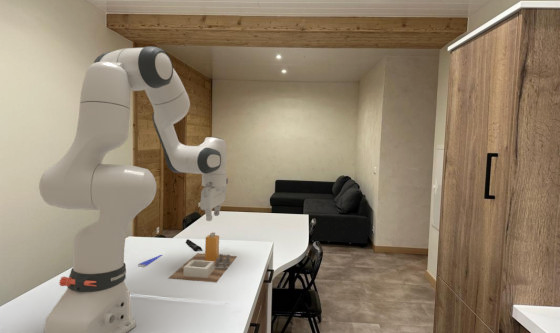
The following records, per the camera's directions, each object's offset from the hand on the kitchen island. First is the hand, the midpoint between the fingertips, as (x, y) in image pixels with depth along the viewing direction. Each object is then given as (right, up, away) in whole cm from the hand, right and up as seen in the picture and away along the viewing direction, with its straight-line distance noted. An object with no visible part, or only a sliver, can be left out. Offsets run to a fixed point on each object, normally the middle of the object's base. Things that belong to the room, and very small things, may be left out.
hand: (213, 217), depth 137 cm
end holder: (-2, -17, -13) cm, 21 cm away
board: (-1, -18, -6) cm, 19 cm away
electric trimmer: (-12, -16, +17) cm, 26 cm away
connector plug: (-1, -16, +1) cm, 16 cm away
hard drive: (-20, -17, -1) cm, 26 cm away
